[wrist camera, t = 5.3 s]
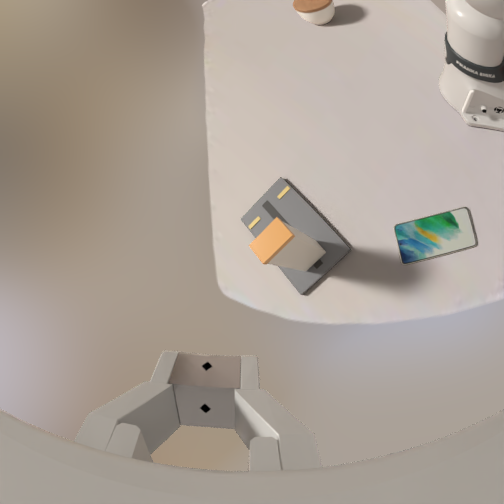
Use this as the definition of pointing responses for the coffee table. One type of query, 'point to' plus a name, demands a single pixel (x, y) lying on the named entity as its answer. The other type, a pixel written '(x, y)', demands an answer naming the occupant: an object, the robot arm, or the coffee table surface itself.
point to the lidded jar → (315, 10)
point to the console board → (303, 219)
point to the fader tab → (286, 247)
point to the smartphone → (435, 235)
